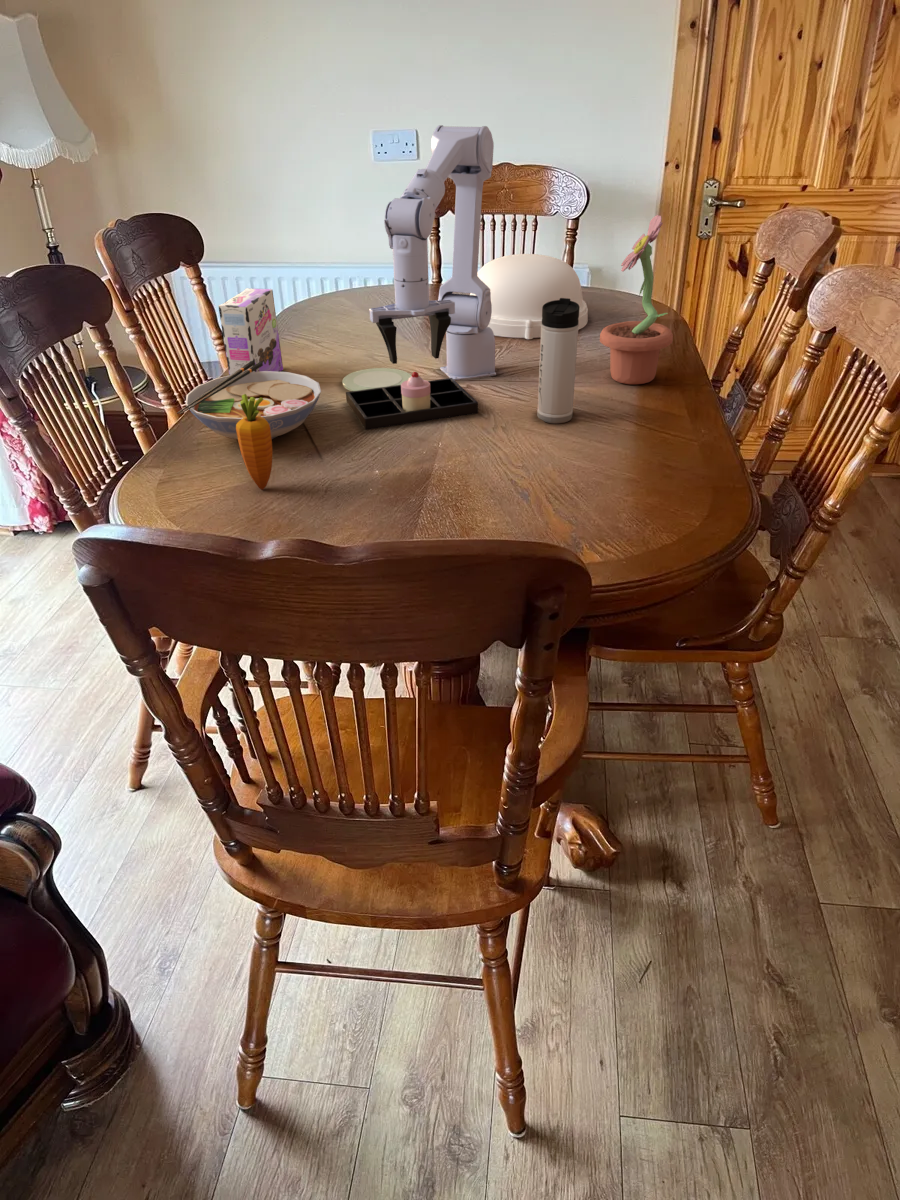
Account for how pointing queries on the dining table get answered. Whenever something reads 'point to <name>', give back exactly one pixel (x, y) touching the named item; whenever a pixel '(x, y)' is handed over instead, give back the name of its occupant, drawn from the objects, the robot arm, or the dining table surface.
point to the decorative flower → (638, 324)
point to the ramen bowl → (281, 404)
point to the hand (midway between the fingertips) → (414, 359)
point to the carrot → (255, 442)
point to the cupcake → (415, 393)
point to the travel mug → (557, 360)
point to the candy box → (251, 331)
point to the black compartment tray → (388, 411)
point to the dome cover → (528, 292)
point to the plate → (374, 378)
